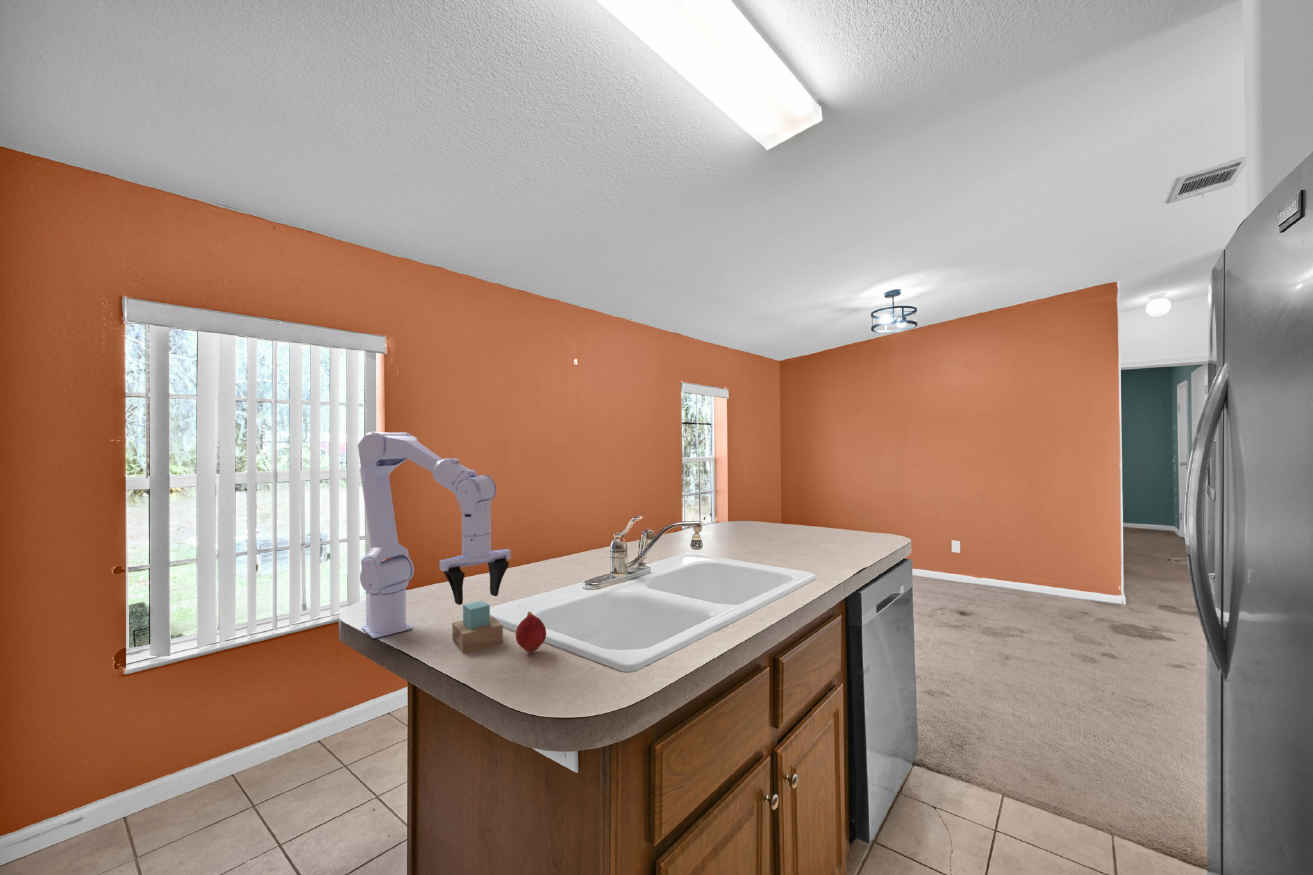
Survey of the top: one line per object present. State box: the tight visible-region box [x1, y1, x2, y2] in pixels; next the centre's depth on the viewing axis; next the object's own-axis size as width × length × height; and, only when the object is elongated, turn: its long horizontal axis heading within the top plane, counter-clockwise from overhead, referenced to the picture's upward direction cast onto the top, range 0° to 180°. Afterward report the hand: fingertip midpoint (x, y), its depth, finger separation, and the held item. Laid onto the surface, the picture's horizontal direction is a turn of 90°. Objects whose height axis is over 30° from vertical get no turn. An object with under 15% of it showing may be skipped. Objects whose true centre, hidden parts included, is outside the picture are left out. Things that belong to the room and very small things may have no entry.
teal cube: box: [462, 600, 491, 629], centre depth 104 cm, size 4×4×4 cm
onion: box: [515, 611, 547, 654], centre depth 98 cm, size 6×6×8 cm
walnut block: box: [451, 614, 504, 654], centre depth 104 cm, size 8×8×4 cm
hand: (476, 599), depth 104 cm, fingers open, 7 cm apart
